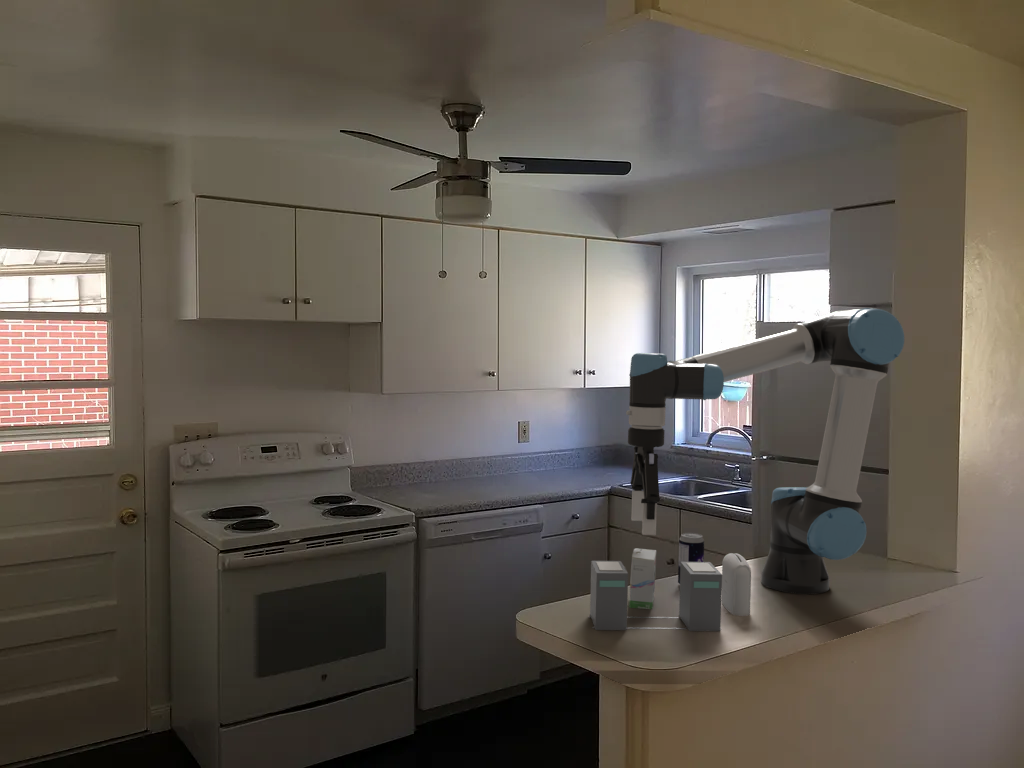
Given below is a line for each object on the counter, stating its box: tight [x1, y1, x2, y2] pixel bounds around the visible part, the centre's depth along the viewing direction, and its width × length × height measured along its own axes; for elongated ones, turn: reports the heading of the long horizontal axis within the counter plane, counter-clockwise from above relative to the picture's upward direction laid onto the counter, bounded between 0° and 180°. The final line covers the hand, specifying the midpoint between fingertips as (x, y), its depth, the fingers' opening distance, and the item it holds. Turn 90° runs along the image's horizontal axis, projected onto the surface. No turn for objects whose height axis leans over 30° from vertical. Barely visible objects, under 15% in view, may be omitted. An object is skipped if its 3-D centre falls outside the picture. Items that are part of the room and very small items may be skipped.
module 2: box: [678, 561, 722, 632], centre depth 168 cm, size 6×9×11 cm, turn 1°
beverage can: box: [677, 532, 705, 585], centre depth 197 cm, size 6×6×12 cm
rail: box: [588, 615, 722, 631], centre depth 168 cm, size 25×8×1 cm, turn 91°
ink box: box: [628, 548, 657, 610], centre depth 181 cm, size 9×5×12 cm, turn 168°
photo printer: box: [721, 552, 752, 617], centre depth 178 cm, size 10×4×12 cm, turn 0°
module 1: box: [589, 560, 629, 631], centre depth 167 cm, size 6×9×11 cm, turn 1°
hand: (643, 527), depth 180 cm, fingers open, 13 cm apart
